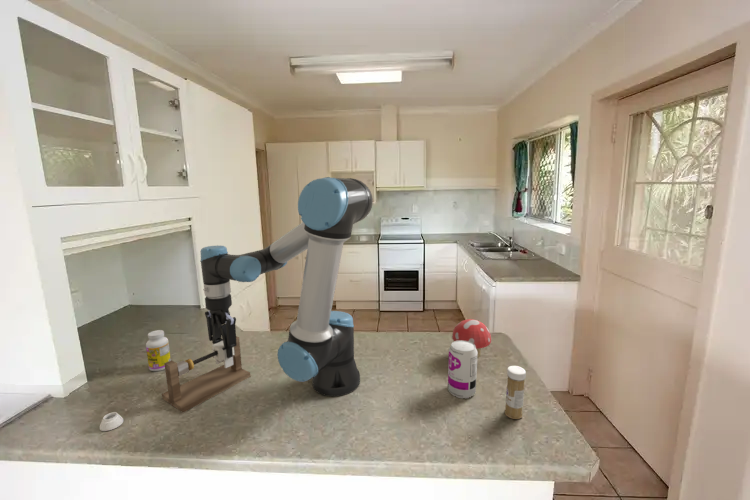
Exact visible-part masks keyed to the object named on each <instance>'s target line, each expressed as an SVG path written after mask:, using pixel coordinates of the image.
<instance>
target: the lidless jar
mask: <svg viewBox="0 0 750 500" xmlns="http://www.w3.org/2000/svg"><path fill="white" fill-rule="evenodd" d="M123 423H124V418H123V417H122V416H121V415H120V414H119V413H118V412H116V411H113V412H109V413H106V414H105V415H104V416H103V417H102V420H101V422H100V425H99V430H100V431H101V432H107V431H111V430H114V429H116V428H118V427H120V426H122V424H123Z"/></svg>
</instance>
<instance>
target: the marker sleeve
mask: <svg viewBox="0 0 750 500" xmlns="http://www.w3.org/2000/svg"><path fill="white" fill-rule="evenodd" d="M211 348H212V349H211V350H212V353H213V352H215V351H218V355H215V356H213V357H212V358H213V359H215V360H216V359H217V360H219V361H222V360H224V357H223V349H222V348H224V344H223V341H221V342H218V343H216V344H213V343H212V344H211ZM232 351H233V355H235V354H234V347H232Z"/></svg>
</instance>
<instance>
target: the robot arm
mask: <svg viewBox="0 0 750 500" xmlns="http://www.w3.org/2000/svg"><path fill="white" fill-rule="evenodd" d="M373 200H374V199H373V194H372V191H371V190H370V188H369V187H368V185H366V183H365V182H363V181H362V180H359V179H357V178H351V177H347V178H345V177H343V178H341V177H329V176H328V177H326V176H325V177H322V178H320V177H319V178H316V179H313V180H311V181H310V182H309V183H307V184H305V186H304V187H303V188H302V190H301V191H300V194H299V197H298V201H297V211H298V215H299V216H301V217H300V221H302V222H301V223H299V224H298V225H297V226H295V227H294V228H292V229H290V231H288V232H286V233H285V234H283V235H282V236H281V237H279V238H278V239H276V240H275V241H274V242H272V243H271V244H269V245H268V246H267V247H265V248H263V249H259V250H255V251H251V252H247V253H241V254H229V251H228V249H227V247H226V246H224V245H208V246H204V247H202V248H201V249H200V267H201V276H202V283H203V292H204V296H205V297H204V302H205V304H204V305H205V309H206V310H207V311H205V312H204V315H205V319H206V324H207V333H208V340H209V341H210V342H212V345H213V344H216V343H218V342H221V341H223V344H224V348H222V349H223V357H224V360H222V361H219V360H217V359H215V364H217V365H218V364H221V363H223V365H224V367H225V368H227V367H230V366H232V365H233V351H232V347H235V346H236V345H237V343H236V336H237V331H236V330H237V329H236V328H237V327H236V322H237V318H236V317H235V316H234V317H232V316H231V312H230V309H229V308H231V306H232V305H233V302H232V294H231V292H232V290H231V289H232V288H231V281H236V282H240V283H252V282H255V281H256V280H257V279H258V278H259V277H260V275H263V274H265V273H270V272H272V271H277V270H279V269H282V268H283V267H285V266H286V265H287V264H288V262H289V261H291V260H292V259H294V258H295V257H297V256H299V255H300V254H301V253H304V251H306V257H305V264H304V271H303V277H302V283H301V284H302V285H301V290H300V297H299V303H298V308H297V309H298V310H297V317H296V320H295V321H293V322H292V323H291V324H290V326H289V329H288V339H287V341H284V342H282V343H281V344H280V346H279V348H278V349H277V362H278V363H279V366H280V368H281V369H282V371H283V372H284V374H286V375H287V376H288V377H289V378H291V379H292V380H294V381H296V382H303V383H304V382H308V381H309V380H312V381H311V382H312V388H313V389H314V391H315V392H317V393H318V394H321V395H323V396H327V397H338V396H339V397H340V396H345V395H347V394H350V393H352V392H354V391H355V390H357V389H358V387H359V386H360V384H361V375H360V371H359V369H358V367H357V363H356V360H355V339H354V338H355V337H354V335H355V332H354V331H355V330H354V327H355V325H354V318H353V316H352V315H351V314H350V313H348V312H345V311H341V310H332V308H333V305H334V304H333V303H334V297H335V291H336V287H337V280H338V276H339V275H338V274H339V269H340V264H341V258H342V253H343V249H344V243H345V242H347V241H348V240H350V239H351V238H352V231H353V228H354V225H355V224H357V223H358V222H361V221H363V220H364V219H365V218H367V217H368V216H369V214H370V212H371V211H372V208H373Z"/></svg>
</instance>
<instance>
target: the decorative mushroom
mask: <svg viewBox="0 0 750 500" xmlns="http://www.w3.org/2000/svg"><path fill="white" fill-rule="evenodd" d="M451 339H452V340H453V342H454V341H459V340H463V341H468V342H471V343H473V344H474V345H475V347H476V349H477V352H478V355H477V360H478V359H479V358H480V357H481V356H482V355H481V353H482V351H481V349H484V348H487V347H488V346H489V345H491V343H492V336H491V332H490V330H489V328H488V327H487V326H486V325H485V323H483V322H482V321H480V320H479V319H478V320H477V319H473V318H470V319H469V318H467V319H464V320H461V321H460V322H458V323H457V324H456V325H455V326H454V329H453V331H452V335H451ZM489 347H490V346H489Z"/></svg>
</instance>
